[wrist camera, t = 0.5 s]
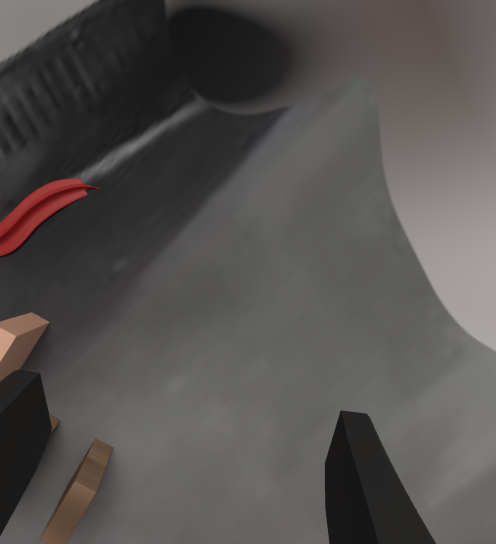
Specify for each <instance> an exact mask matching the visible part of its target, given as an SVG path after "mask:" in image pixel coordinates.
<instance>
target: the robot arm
mask: <svg viewBox="0 0 496 544" xmlns="http://www.w3.org/2000/svg"><path fill="white" fill-rule="evenodd" d="M51 431H52V425H51V421H50V416H49V412H48V407H47V403H46V398H45V394H44V389H43V385H42V380H41V376H40V373H35V372H27V371H19V370H14V371H13V372H12V373H10V374H9V375H8V376H7V377H5V378H4V379H3V380H1V381H0V535H1V534H2V532H3V530H4V528H5V526H6V525H7V523H8V521H9V519H10V517H11V515H12V514H13V512H14V510H15V508H16V506H17V504H18V503H19V501H20V499H21V497H22V495H23V493H24V492H25V490H26V488H27V486H28V484H29V482H30V480H31V478H32V477H33V475H34V473H35V471H36V469H37V466H38V464H39V461H40V459H41V457H42V454H43V452H44V449H45V447H46V444H47V442H48V439H49V436H50V434H51ZM325 507H326V517H327V526H328V534H329V543H330V544H436V543H435V541H434V539H433V538H432V536H431V534H430V533H429V531H428V529H427V528H426V526H425V524H424V523H423V521H422V519H421V517H420V516H419V514H418V512H417V510H416V508H415V507H414V505H413V503H412V501H411V499H410V498H409V496H408V494H407V492H406V490H405V489H404V487H403V485H402V483H401V481H400V479H399V477H398V475H397V473H396V472H395V470H394V468H393V466H392V464H391V462H390V460H389V458H388V456H387V454H386V451H385V449H384V447H383V445H382V443H381V441H380V439H379V437H378V434H377V432H376V430H375V428H374V426H373V423H372V421H371V419H370V417H369V416H368V415H367V414H365V413H357V412H349V411H340V415H339V418H338V421H337V425H336V428H335V431H334V435H333V438H332V441H331V445H330V448H329V451H328V455H327V458H326V461H325Z"/></svg>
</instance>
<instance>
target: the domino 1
mask: <svg viewBox="0 0 496 544" xmlns="http://www.w3.org/2000/svg"><path fill="white" fill-rule="evenodd" d="M48 324H49V322H48V321H46V320H44V319H43V318H41V317H39V316H37V315H35V314H34V313H32V312H31V313H28V314H24V315H21V316H18V317H14V318H11V319H8V320H5V321H1V322H0V381H1V380H3V379H4V378H5V377H7V376H8V375H9V374H10V373H12V372H13V371H14V370H19V369H21V367H22V366H23V364H24V362H25V361H26V359H27V358H28V356H29V354H30V353H31V351H32V350H33V348H34V346H35V345H36V343H37V342H38V340H39V338H40V337H41V335H42V334H43V332H44V330H45V329H46V327H47V326H48Z"/></svg>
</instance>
